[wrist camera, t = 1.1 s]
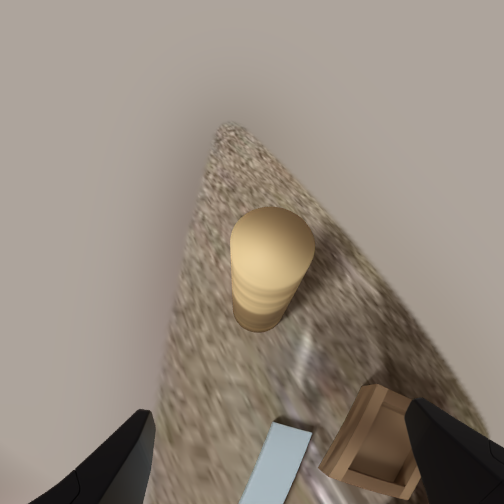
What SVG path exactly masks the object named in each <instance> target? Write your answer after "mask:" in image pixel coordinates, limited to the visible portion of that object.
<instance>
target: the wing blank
mask: <svg viewBox="0 0 504 504" xmlns="http://www.w3.org/2000/svg"><path fill="white" fill-rule="evenodd" d="M311 435H312V433H311V432H309V431H305V430H301V429H297V428H294V427H290V426H286V425H283V424H279V423H276V422H272V424H271V427H270V430H269V432H268V435H267V437H266V440H265V442H264V445H263V447H262V450H261V452H260V455H259V457H258V460H257V462H256V464H255V467H254V469H253V471H252V474H251V476H250V478H249V481H248V483H247V485H246V488H245V490H244V492H243V494H242V497H241V499H240V501H239V503H238V504H283V503H284V500H285V498H286V496H287V494H288V492H289V489H290V487H291V485H292V482H293V480H294V478H295V475H296V473H297V471H298V468H299V466H300V463H301V461H302V458H303V456H304V453H305V451H306V448H307V446H308V443H309V440H310V438H311Z"/></svg>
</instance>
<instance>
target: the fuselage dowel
mask: <svg viewBox="0 0 504 504" xmlns="http://www.w3.org/2000/svg"><path fill="white" fill-rule="evenodd" d="M230 245H231V274H232V299H233V313H234V317H235V319H236V321H237V322H238V323H239V324H240V325H241V326H242V327H243V328H244V329H246V330H248V331H251V332H258V333H259V332H266V331H268V330H270V329H272V328H274V327H275V326H276V325H277V324H278V323H279V321H280V320H281V318H282V316H283V314H284V312H285V310H286V309H287V307H288V305H289V303H290V301H291V299H292V298H293V296H294V294H295V292H296V290H297V288H298V286H299V284H300V283H301V281H302V279H303V277H304V275H305V273H306V271H307V269H308V267H309V265H310V263H311V261H312V259H313V256H314V253H315V241H314V237H313V234H312V231H311V229H310V228H309V226H308V225H307V224H306V222H305V221H304V220H303V219H302V218H301V217H299V216H298V215H296V214H295V213H293V212H291V211H289V210H286V209H283V208H278V207H262V208H258V209H255V210H252V211H250V212H248V213H247V214H245V215H244V216H243V217H242V218H240V219H239V221H238V222H237V223H236V225H235V226H234V228H233V231H232V234H231V240H230Z"/></svg>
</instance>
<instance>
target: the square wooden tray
mask: <svg viewBox="0 0 504 504" xmlns="http://www.w3.org/2000/svg"><path fill="white" fill-rule="evenodd" d="M411 401H412V399H409V398H407V397H405V396H403V395H401V394H398V393H396V392H394V391H392V390H390V389H388V388H385V387H383V386H381V385H379V384H373V385H366V386H362V387H361V389H360V391H359V393H358V395H357V397H356V399H355V401H354V403H353V405H352V407H351V409H350V411H349V413H348V415H347V417H346V419H345V421H344V423H343V425H342V427H341V429H340V430H339V432H338V434H337V436H336V438H335V440H334V441H333V443H332V445H331V447H330V448H329V450H328V452H327V454H326V455H325V457H324V459H323V460H322V462H321V464H320V465H319V467H318V468H319V469H320V470H321V471H322V472H323V473H325V474H326V475H327V476H328V477H331V478H334V479H336V480H339V481H342V482H345V483H348V484H351V485H354V486H357V487H360V488H364V489H367V490H370V491H374V492H377V493H381V494H385V495H388V496H392V497H396V498H400V499H405V500H408V499H409V498H410V496H411V494H412V493H413V491H414V489H415V487H416V485H417V483H418V482H419V480H420V478H421V475H420V472H419V469H418V467H417V464H416V461H415V458H414V455H413V452H412V448H411V444H410V440H409V436H408V432H407V428H406V424H405V420H404V415H405V412H406V410H407V408H408V406H409V404H410V402H411Z"/></svg>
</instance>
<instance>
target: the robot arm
mask: <svg viewBox="0 0 504 504" xmlns="http://www.w3.org/2000/svg"><path fill="white" fill-rule="evenodd" d="M404 420H405V424H406V428H407V432H408V436H409V440H410V444H411V448H412V452H413V455H414V458H415V461H416V464H417V467H418V469H419V472H420V475H421V478H422V481H423V484H424V487H425V490H426V493H427V496H428V500H429V503H430V504H504V448H503V447H501V446H500V445H498V444H496V443H495V442H493V441H491V440H489V439H488V438H486V437H485V436H483V435H481V434H480V433H478V432H477V431H475V430H473V429H472V428H470V427H468V426H467V425H465V424H464V423H462V422H460V421H459V420H457V419H456V418H454V417H452V416H451V415H449V414H448V413H446V412H445V411H443V410H441V409H440V408H438V407H437V406H435V405H434V404H432V403H430V402H429V401H427V400H426V399H424V398H416V399H413V400H412V401H411V402H410V404H409V406H408V408H407V410H406V412H405V415H404ZM155 431H156V427H155V423H154V419H153V416H152V412H151V411H150V410H144V409H139V410H137V411H136V412H135V413H134V414H133V415H132V416H131V417H130V418H129V419H128V420H127V421H126V422H125V423H124V424H122V425H121V427H119V428H118V429H117V430H116V431H115V432H114V433H113V434H112V435H111V436H110V437H109V438H108V439H107V440H106V441H105V442H104V443H103V444H101V445H100V446H99V447H98V448H97V449H96V450H95V451H94V452H93V453H92V454H91V455H89V456H88V457H87V458H86V459H85V460H84V461H83V462H82V463H81V464H80V465H79V466H78V467H77V468H76V469H75V470H73V471H72V472H71V473H70V474H69V475H67V476H66V477H65V478H64V479H63V480H62V481H60V482H59V483H58V484H57V485H55V486H54V487H52V488H51V489H50V490H48V491H47V492H45V493H44V494H42V495H41V496H39V497H38V498H36V499H35V500H33V501H32V502H30V503H28V504H143V500H144V496H145V492H146V488H147V484H148V479H149V475H150V471H151V465H152V456H153V448H154V439H155Z"/></svg>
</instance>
